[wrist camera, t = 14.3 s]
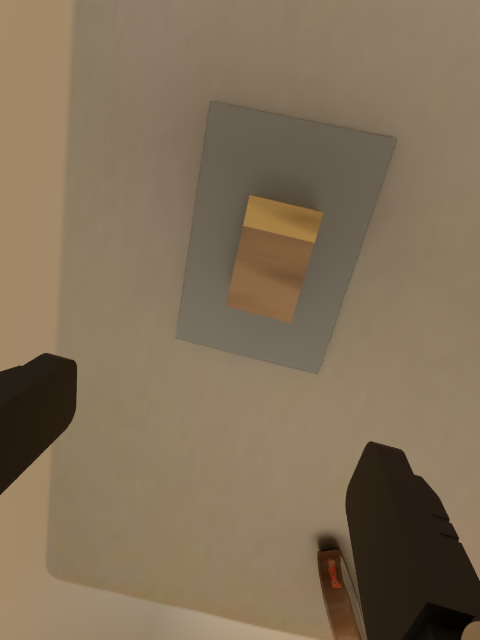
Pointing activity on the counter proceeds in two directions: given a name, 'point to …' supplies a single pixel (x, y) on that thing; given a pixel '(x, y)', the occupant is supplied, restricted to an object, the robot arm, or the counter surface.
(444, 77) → the counter surface
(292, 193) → the mat
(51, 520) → the counter surface
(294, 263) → the block
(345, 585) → the tin
